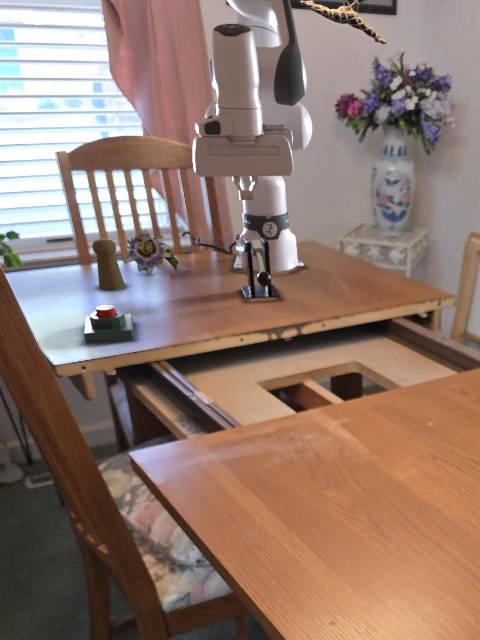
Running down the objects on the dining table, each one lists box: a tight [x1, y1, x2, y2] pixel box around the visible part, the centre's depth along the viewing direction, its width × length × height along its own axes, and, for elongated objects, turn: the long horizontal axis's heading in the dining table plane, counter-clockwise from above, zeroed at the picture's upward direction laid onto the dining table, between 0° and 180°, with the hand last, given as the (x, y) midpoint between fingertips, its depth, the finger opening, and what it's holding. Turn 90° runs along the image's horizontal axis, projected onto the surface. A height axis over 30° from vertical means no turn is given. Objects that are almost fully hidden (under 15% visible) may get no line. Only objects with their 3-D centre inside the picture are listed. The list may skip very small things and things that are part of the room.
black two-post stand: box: [240, 238, 281, 300], centre depth 167 cm, size 10×8×13 cm
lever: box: [251, 240, 272, 286], centre depth 162 cm, size 13×3×3 cm, turn 19°
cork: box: [92, 238, 126, 292], centre depth 169 cm, size 6×6×11 cm
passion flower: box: [123, 228, 179, 276], centre depth 184 cm, size 11×11×12 cm
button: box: [95, 304, 116, 318], centre depth 144 cm, size 4×4×2 cm
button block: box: [83, 309, 135, 345], centre depth 145 cm, size 11×9×4 cm
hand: (247, 199), depth 149 cm, fingers closed
